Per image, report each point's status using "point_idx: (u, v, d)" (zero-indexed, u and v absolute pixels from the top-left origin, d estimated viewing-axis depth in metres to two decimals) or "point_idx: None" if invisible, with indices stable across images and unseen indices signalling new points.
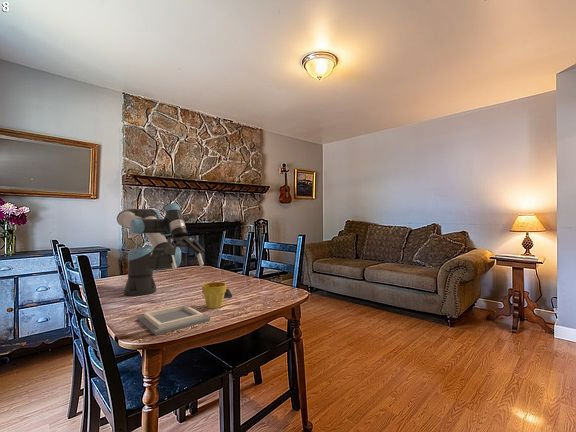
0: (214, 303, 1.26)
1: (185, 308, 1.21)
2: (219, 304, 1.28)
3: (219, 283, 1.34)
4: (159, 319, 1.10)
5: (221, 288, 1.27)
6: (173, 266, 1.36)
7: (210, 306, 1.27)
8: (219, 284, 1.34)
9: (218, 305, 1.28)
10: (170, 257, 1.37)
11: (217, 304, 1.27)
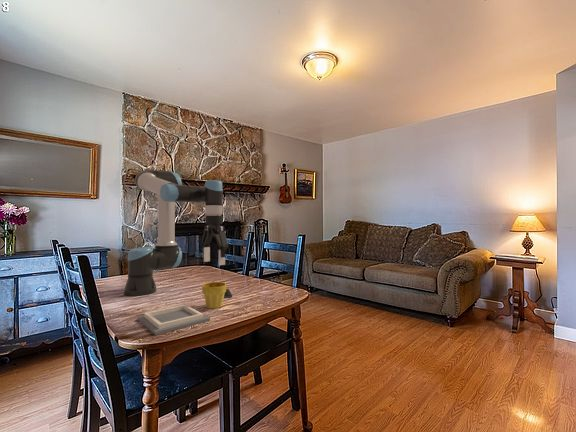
0: (214, 303, 1.26)
1: (185, 308, 1.21)
2: (219, 304, 1.28)
3: (219, 283, 1.34)
4: (159, 319, 1.10)
5: (221, 288, 1.27)
6: (222, 261, 1.25)
7: (210, 306, 1.27)
8: (219, 284, 1.34)
9: (218, 305, 1.28)
10: None
11: (217, 304, 1.27)
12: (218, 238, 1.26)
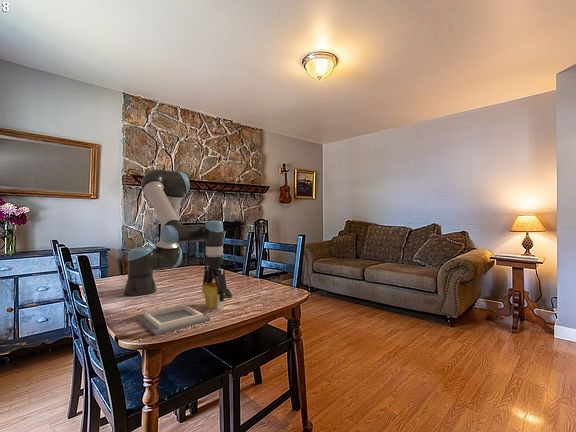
0: (214, 303, 1.26)
1: (185, 308, 1.21)
2: None
3: None
4: (159, 319, 1.10)
5: None
6: (221, 305, 1.26)
7: (210, 306, 1.27)
8: None
9: None
10: None
11: None
12: (218, 281, 1.26)
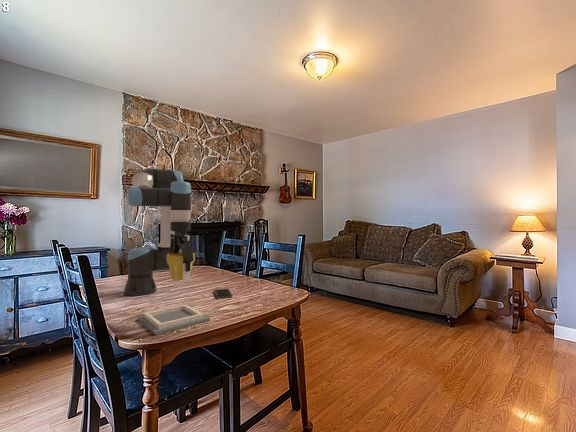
0: (179, 274, 1.12)
1: (185, 308, 1.21)
2: None
3: None
4: (159, 319, 1.10)
5: None
6: (187, 276, 1.11)
7: (175, 277, 1.12)
8: None
9: None
10: None
11: None
12: (184, 249, 1.11)
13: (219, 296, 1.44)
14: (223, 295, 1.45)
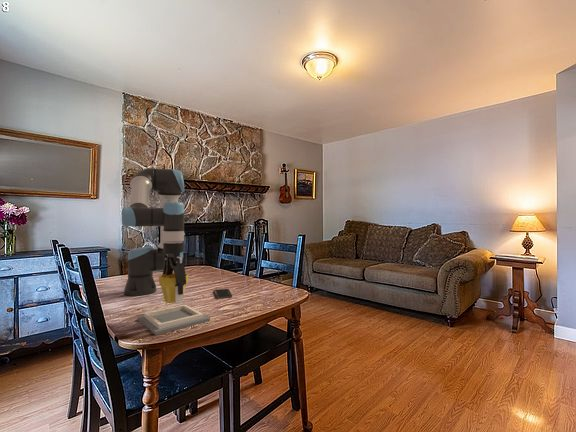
0: (172, 297, 1.09)
1: (185, 308, 1.21)
2: None
3: None
4: (159, 319, 1.10)
5: None
6: (179, 299, 1.08)
7: (168, 300, 1.09)
8: None
9: None
10: None
11: None
12: (176, 271, 1.09)
13: (219, 296, 1.44)
14: (223, 295, 1.45)
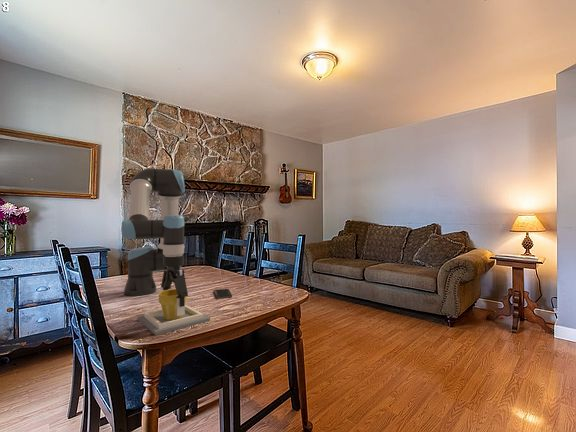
0: (171, 314, 1.09)
1: (185, 308, 1.21)
2: None
3: None
4: (159, 319, 1.10)
5: None
6: (181, 311, 1.07)
7: (167, 317, 1.10)
8: None
9: (177, 316, 1.10)
10: None
11: (175, 315, 1.10)
12: (177, 283, 1.08)
13: (219, 296, 1.44)
14: (223, 295, 1.45)
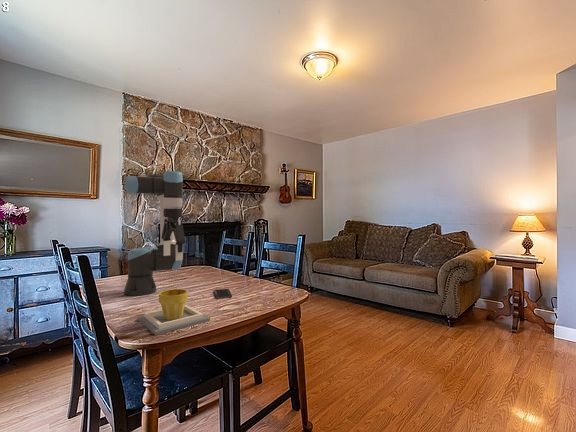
0: (171, 314, 1.09)
1: (185, 308, 1.21)
2: (178, 315, 1.11)
3: (180, 290, 1.17)
4: (159, 319, 1.10)
5: (180, 297, 1.10)
6: (179, 257, 1.20)
7: (167, 317, 1.10)
8: (180, 291, 1.17)
9: (177, 316, 1.10)
10: None
11: (175, 315, 1.10)
12: (176, 232, 1.20)
13: (219, 296, 1.44)
14: (223, 295, 1.45)
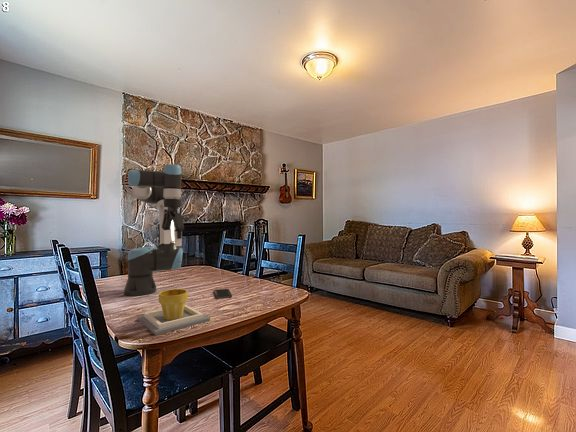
0: (171, 314, 1.09)
1: (185, 308, 1.21)
2: (178, 315, 1.11)
3: (180, 290, 1.17)
4: (159, 319, 1.10)
5: (180, 297, 1.10)
6: (178, 243, 1.29)
7: (167, 317, 1.10)
8: (180, 291, 1.17)
9: (177, 316, 1.10)
10: None
11: (175, 315, 1.10)
12: (175, 220, 1.30)
13: (219, 296, 1.44)
14: (223, 295, 1.45)
